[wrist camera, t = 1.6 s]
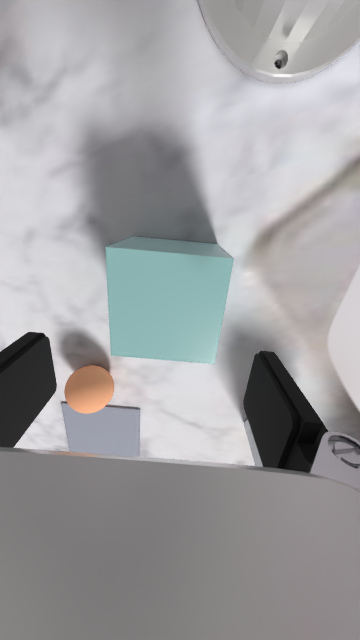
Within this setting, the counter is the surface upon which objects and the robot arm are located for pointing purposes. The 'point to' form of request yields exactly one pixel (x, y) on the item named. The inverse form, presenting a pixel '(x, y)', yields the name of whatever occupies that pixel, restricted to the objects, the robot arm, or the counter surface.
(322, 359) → the counter surface
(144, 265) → the mint green block
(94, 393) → the ball
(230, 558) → the robot arm
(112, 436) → the grey square plate
